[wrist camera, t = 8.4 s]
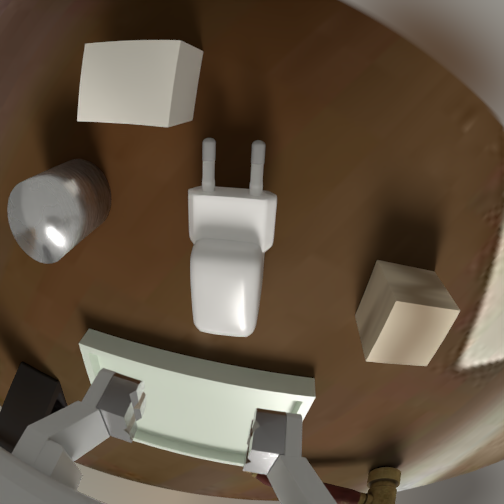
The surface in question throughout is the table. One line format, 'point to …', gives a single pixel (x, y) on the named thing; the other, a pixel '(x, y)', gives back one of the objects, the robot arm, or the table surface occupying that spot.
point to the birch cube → (404, 315)
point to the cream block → (139, 82)
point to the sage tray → (196, 396)
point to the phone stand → (28, 403)
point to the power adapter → (229, 246)
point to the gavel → (376, 500)
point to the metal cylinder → (58, 209)
